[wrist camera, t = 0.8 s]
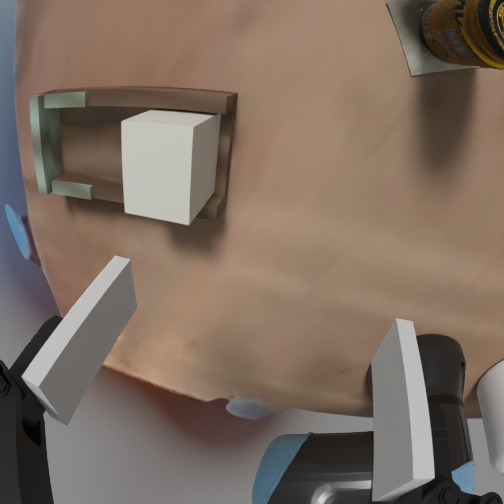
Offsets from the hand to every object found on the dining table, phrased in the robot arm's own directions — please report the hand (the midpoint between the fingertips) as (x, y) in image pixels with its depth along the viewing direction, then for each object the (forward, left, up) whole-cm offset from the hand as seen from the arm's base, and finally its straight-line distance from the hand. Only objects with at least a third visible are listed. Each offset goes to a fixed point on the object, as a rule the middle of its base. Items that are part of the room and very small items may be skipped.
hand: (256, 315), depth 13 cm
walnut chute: (0, +17, -20) cm, 27 cm away
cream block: (0, +10, -19) cm, 22 cm away
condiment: (+16, -11, -21) cm, 28 cm away
